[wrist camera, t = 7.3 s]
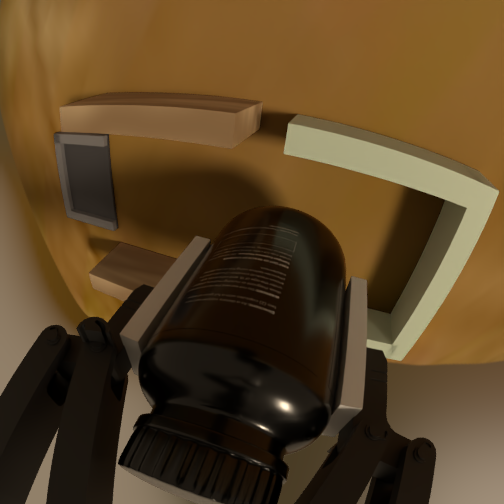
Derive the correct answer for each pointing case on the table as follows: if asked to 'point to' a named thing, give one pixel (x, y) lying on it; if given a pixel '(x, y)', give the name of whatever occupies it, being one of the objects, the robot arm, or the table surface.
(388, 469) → the robot arm
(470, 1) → the table surface
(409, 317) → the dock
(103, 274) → the channel
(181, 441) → the supplement bottle
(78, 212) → the mat
